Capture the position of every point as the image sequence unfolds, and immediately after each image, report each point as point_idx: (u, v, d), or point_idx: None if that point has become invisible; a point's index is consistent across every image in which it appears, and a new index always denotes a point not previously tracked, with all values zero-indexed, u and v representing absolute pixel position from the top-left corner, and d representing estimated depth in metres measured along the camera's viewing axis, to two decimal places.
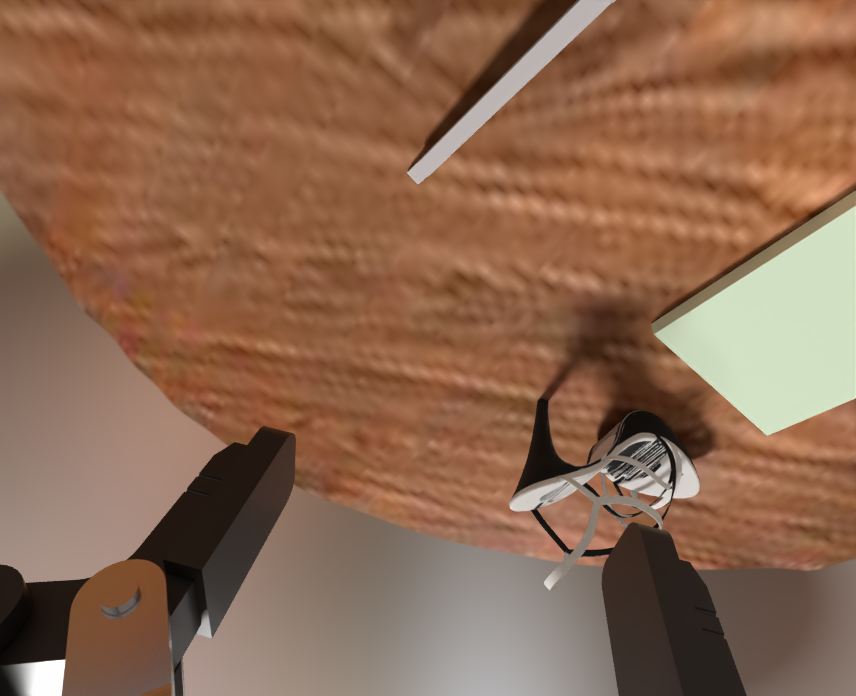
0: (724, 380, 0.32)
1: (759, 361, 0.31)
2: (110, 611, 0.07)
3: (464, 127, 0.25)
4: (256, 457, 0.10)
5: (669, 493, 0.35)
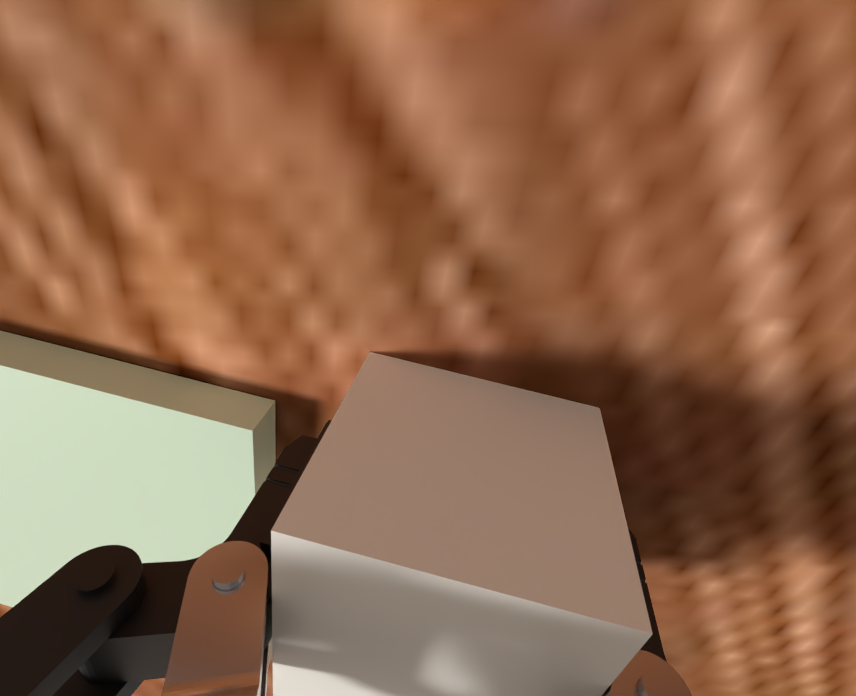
0: None
1: None
2: (223, 588, 0.07)
3: None
4: None
5: None
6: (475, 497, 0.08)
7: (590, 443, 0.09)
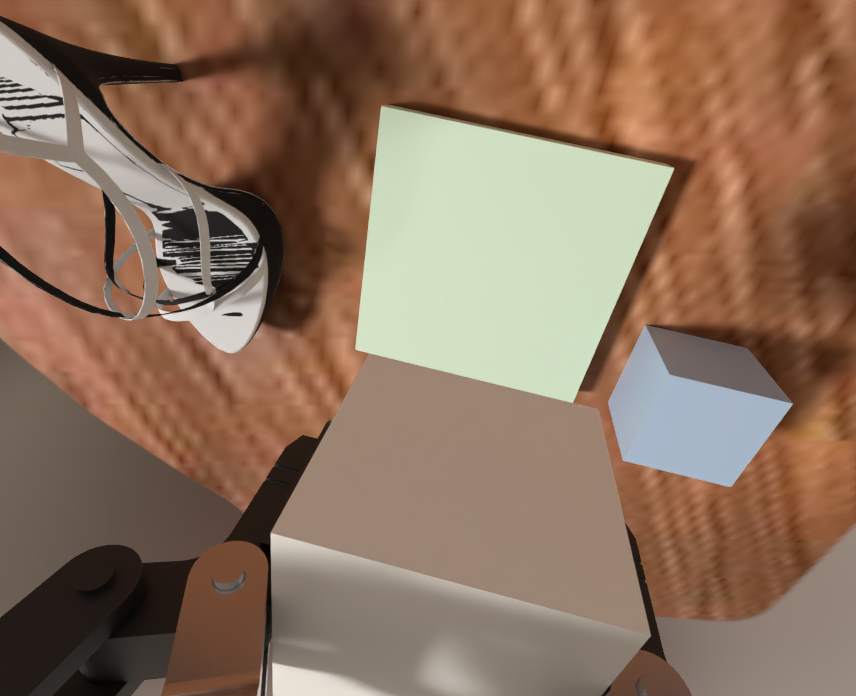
0: (383, 246, 0.24)
1: (429, 255, 0.24)
2: (223, 588, 0.07)
3: None
4: None
5: (203, 308, 0.23)
6: (474, 499, 0.08)
7: (589, 445, 0.09)
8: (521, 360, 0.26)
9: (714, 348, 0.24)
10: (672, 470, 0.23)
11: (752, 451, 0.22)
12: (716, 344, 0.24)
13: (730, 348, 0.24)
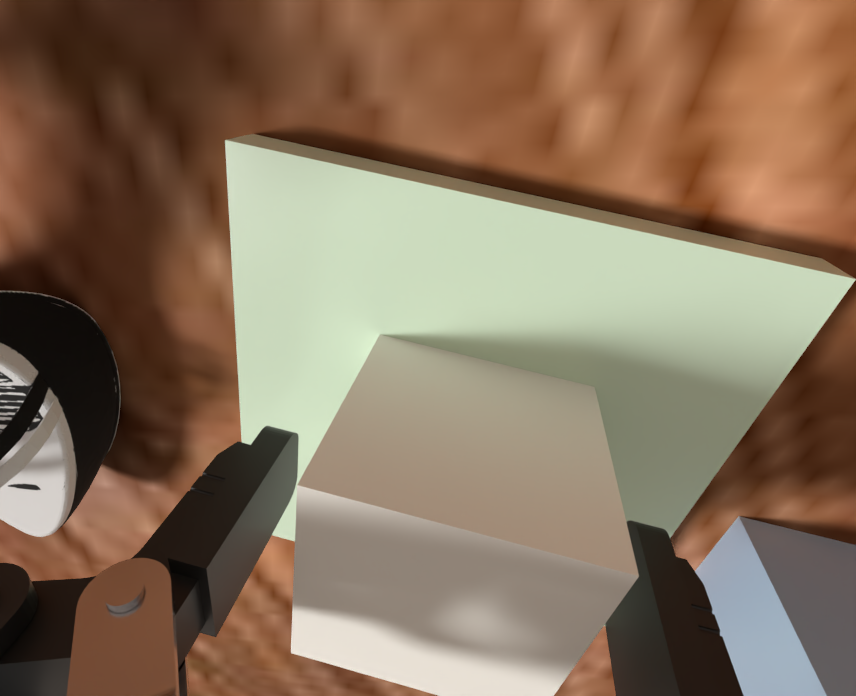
0: (267, 388, 0.13)
1: None
2: (115, 609, 0.07)
3: None
4: (259, 456, 0.10)
5: None
6: (480, 462, 0.08)
7: (585, 417, 0.10)
8: None
9: None
10: None
11: None
12: None
13: None
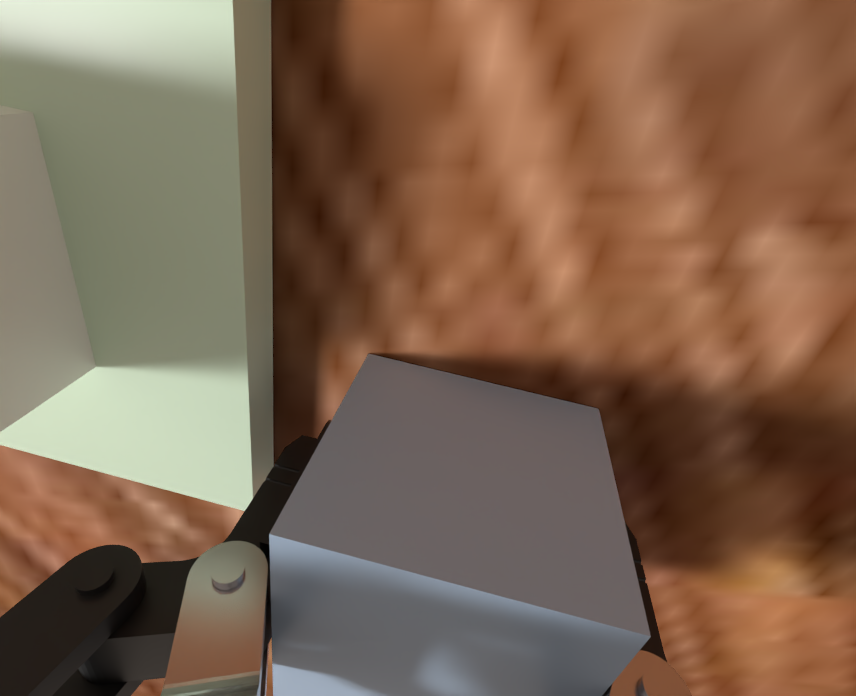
0: None
1: None
2: (223, 588, 0.07)
3: None
4: None
5: None
6: None
7: None
8: (119, 427, 0.12)
9: (507, 417, 0.10)
10: None
11: None
12: (521, 406, 0.10)
13: (552, 414, 0.10)
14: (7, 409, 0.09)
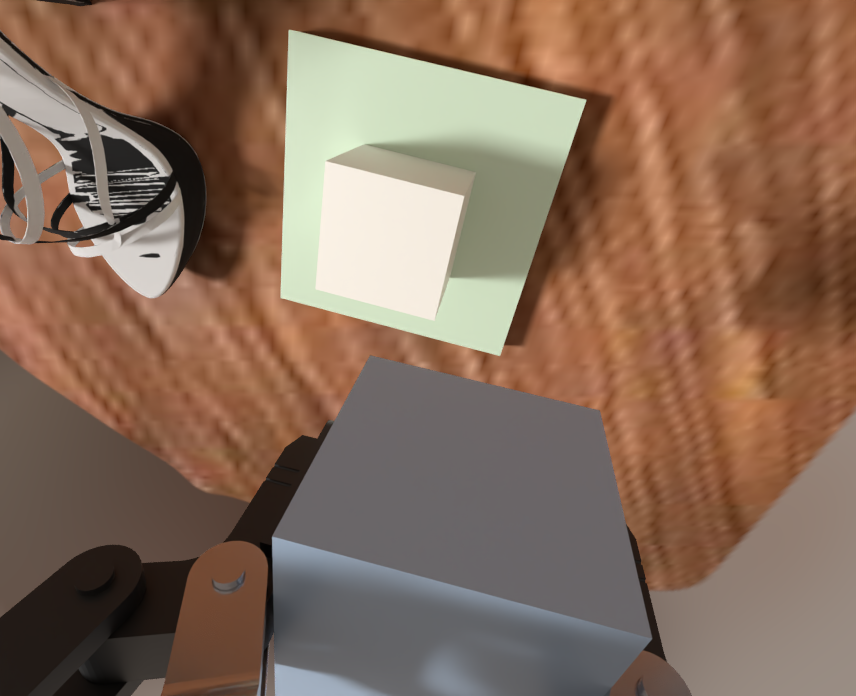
0: (300, 185, 0.23)
1: None
2: (223, 588, 0.07)
3: None
4: None
5: (111, 242, 0.22)
6: (406, 172, 0.19)
7: (465, 175, 0.20)
8: (446, 309, 0.25)
9: (508, 419, 0.10)
10: None
11: None
12: (523, 408, 0.10)
13: (553, 415, 0.10)
14: (445, 287, 0.22)
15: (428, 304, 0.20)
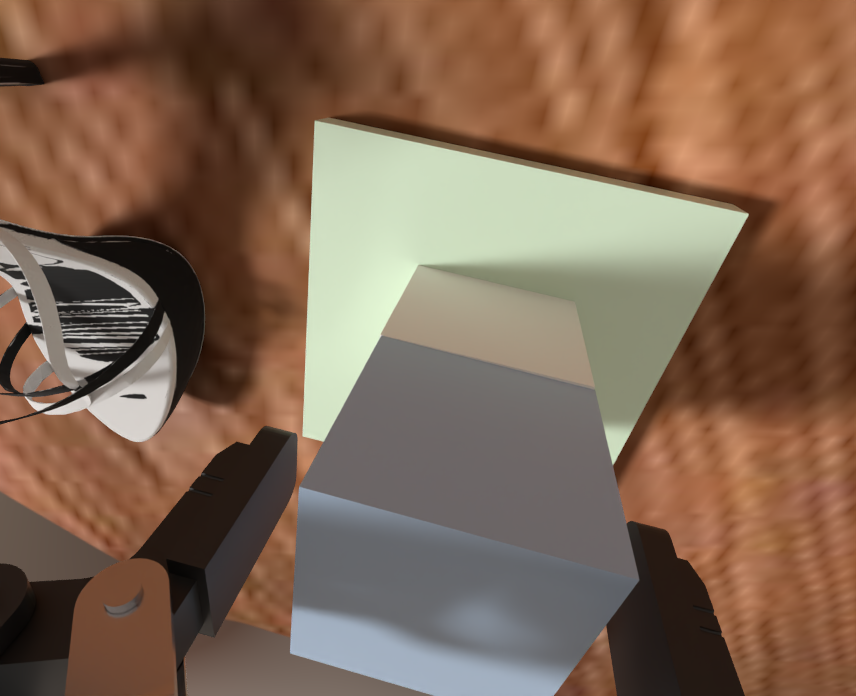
0: (329, 311, 0.17)
1: None
2: (113, 610, 0.07)
3: None
4: (258, 457, 0.10)
5: (77, 401, 0.17)
6: (494, 332, 0.13)
7: (567, 316, 0.14)
8: None
9: (510, 395, 0.10)
10: (399, 681, 0.10)
11: (561, 668, 0.09)
12: (524, 386, 0.11)
13: (552, 393, 0.11)
14: None
15: None
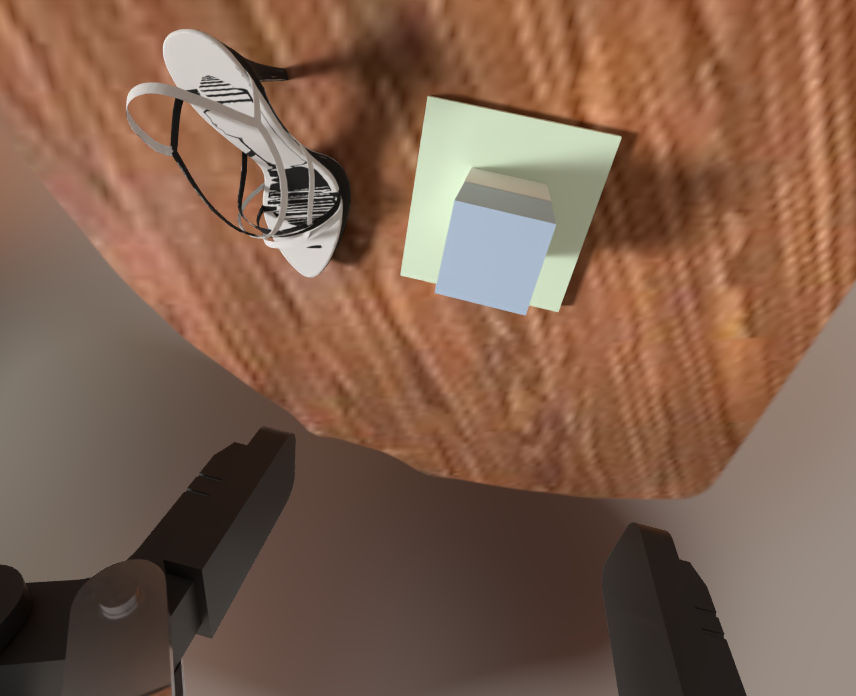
0: (424, 195, 0.34)
1: None
2: (110, 611, 0.07)
3: None
4: (256, 457, 0.10)
5: (301, 237, 0.33)
6: (510, 186, 0.29)
7: (542, 186, 0.31)
8: None
9: (517, 198, 0.27)
10: (476, 300, 0.27)
11: (535, 276, 0.25)
12: (522, 197, 0.28)
13: (533, 200, 0.28)
14: None
15: None
